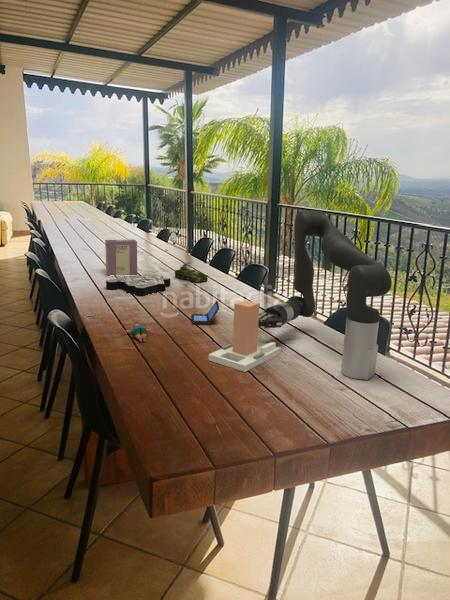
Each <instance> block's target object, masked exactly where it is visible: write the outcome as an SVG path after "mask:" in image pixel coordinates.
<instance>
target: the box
mask: <svg viewBox="0 0 450 600" xmlns="http://www.w3.org/2000/svg"><path fill="white" fill-rule="evenodd" d="M104 243H105V274H106V273H107V274H106V276H107V275H108V276H110V275H137V276H138V241H137V240H136V239H105V242H104ZM108 276H107V277H108Z"/></svg>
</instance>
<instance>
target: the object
mask: <svg viewBox="0 0 450 600" xmlns="http://www.w3.org/2000/svg"><path fill="white" fill-rule="evenodd" d="M219 310H220V305H219V302H218V300H216V301H215V302H214V303H213V305H212V306H211V308H210V309H209V311H208V312H207V313H206V314H205V313H201V314H200V313H192V314H191V325H193V326H211V322H212V321H213V319H214V318H215V316H216V315H217V313H218V312H219Z"/></svg>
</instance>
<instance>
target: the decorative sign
mask: <svg viewBox="0 0 450 600" xmlns="http://www.w3.org/2000/svg"><path fill="white" fill-rule="evenodd" d="M169 286H170V287H171V278H170V277H169V278H167V277H165V278H164V276H163V275H157V274H144V275H137V276H120V277H118V278H112V279H107V280H105V289H106V290H107V291H118V290H121V289H122V290H121V291H123V292H125V291H126V292H125V293H126V294H128V293H130V294H129V295H134V294H135V295H134V296H135V297H146V295H147V296H149V295H148V294H150V295H153V294H152V293H154V294H157V292H158V293H165V292H166V288H170V287H169ZM117 289H118V290H117ZM159 291H160V292H159ZM164 291H165V292H164Z"/></svg>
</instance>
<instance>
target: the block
mask: <svg viewBox="0 0 450 600" xmlns="http://www.w3.org/2000/svg"><path fill="white" fill-rule="evenodd" d="M260 307H261V306H260V303H259V302H255V301H249V300H247V299H246V300H242V301H238V302H236V303H234V308H233V310H234V311H233V327H232V328H233V329H232V330H233V331H232V344H233V349H232V352H235V353H238V354H242V355H245V356H247V355H249V354H251V353H254V352H256V351H257V341H258V340H259V339H258V338H259V337H258V336H259V327H258V323H259V314H260ZM258 342H259V341H258Z"/></svg>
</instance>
